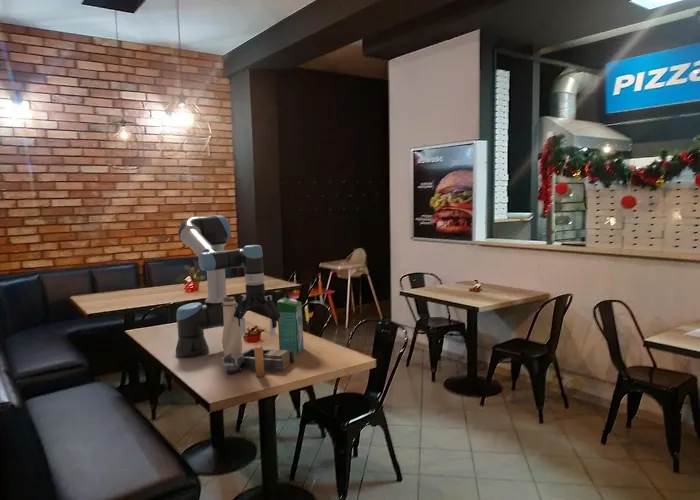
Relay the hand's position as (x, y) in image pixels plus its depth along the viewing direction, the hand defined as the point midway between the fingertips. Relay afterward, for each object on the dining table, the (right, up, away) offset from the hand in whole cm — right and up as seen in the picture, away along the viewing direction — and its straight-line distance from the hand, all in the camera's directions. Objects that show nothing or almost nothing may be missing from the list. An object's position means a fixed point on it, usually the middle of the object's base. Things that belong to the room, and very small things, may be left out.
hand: (258, 334), depth 212 cm
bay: (+1, -16, +15) cm, 21 cm away
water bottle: (-16, -15, +26) cm, 34 cm away
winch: (-12, -17, +7) cm, 22 cm away
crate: (+6, -16, +13) cm, 21 cm away
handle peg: (0, -17, +2) cm, 17 cm away
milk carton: (+10, -13, +33) cm, 37 cm away
